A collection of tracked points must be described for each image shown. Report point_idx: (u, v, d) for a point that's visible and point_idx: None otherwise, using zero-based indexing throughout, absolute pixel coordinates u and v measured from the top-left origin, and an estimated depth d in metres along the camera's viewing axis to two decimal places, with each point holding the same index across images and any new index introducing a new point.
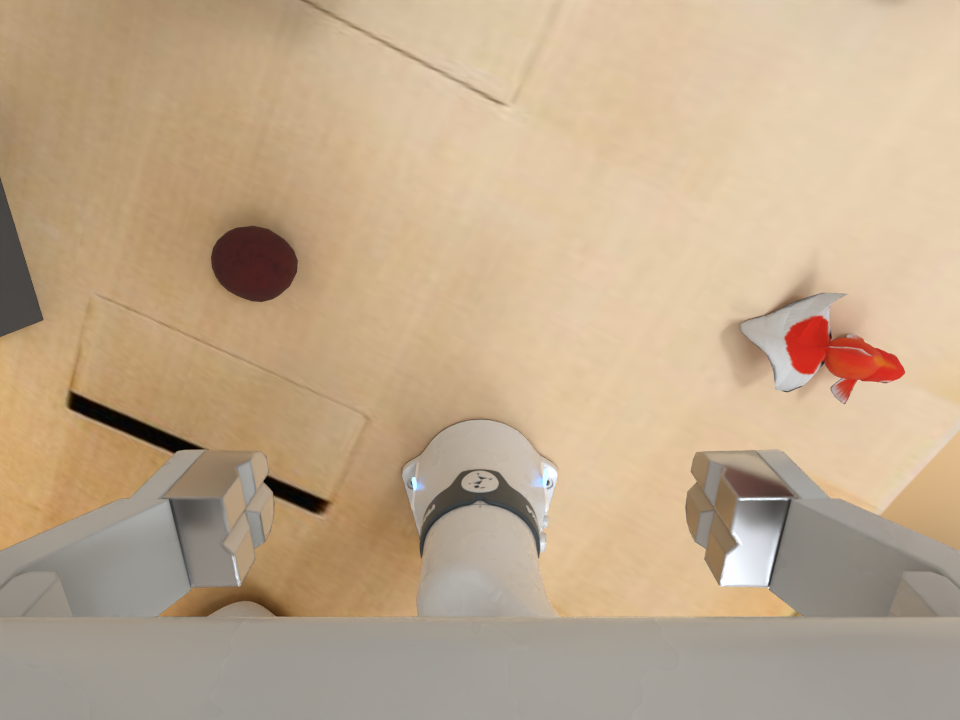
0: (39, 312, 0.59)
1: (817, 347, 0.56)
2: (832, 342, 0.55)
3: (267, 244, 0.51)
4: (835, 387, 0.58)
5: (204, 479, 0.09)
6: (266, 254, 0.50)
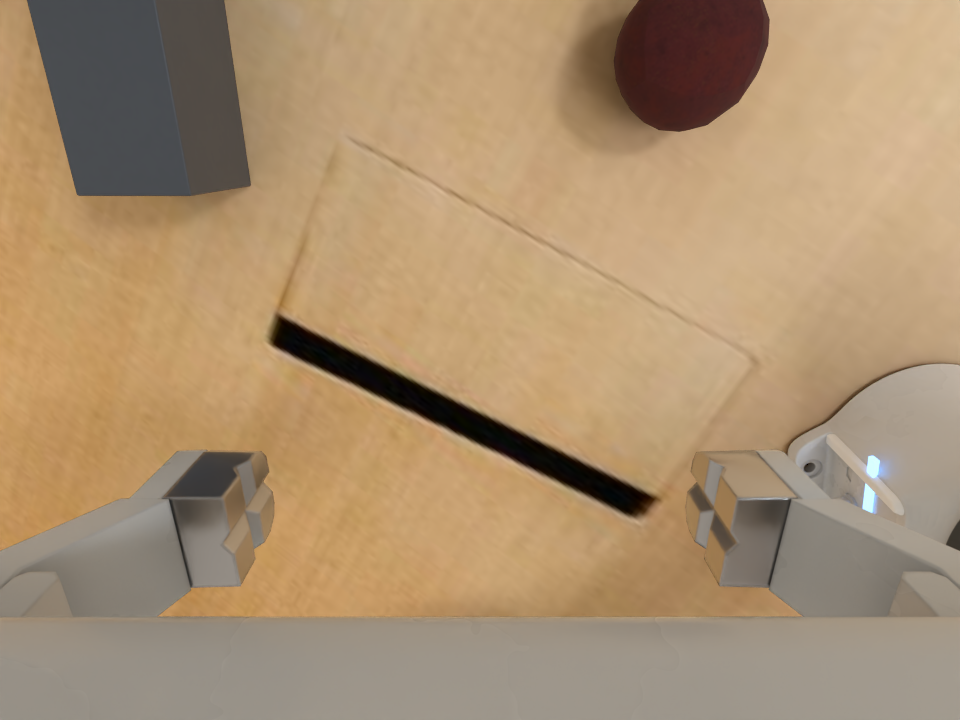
0: (247, 170, 0.34)
1: None
2: None
3: None
4: None
5: (204, 479, 0.09)
6: (758, 13, 0.26)
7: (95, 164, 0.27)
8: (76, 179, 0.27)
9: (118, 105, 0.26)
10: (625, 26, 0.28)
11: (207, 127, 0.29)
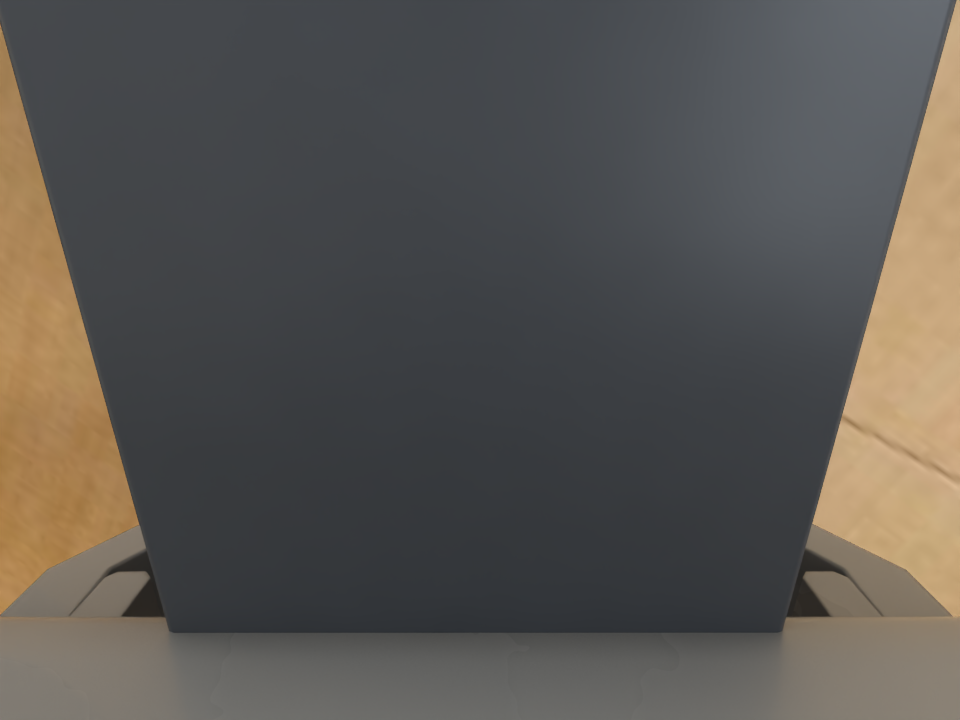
0: None
1: None
2: None
3: None
4: None
5: None
6: None
7: None
8: None
9: None
10: None
11: None
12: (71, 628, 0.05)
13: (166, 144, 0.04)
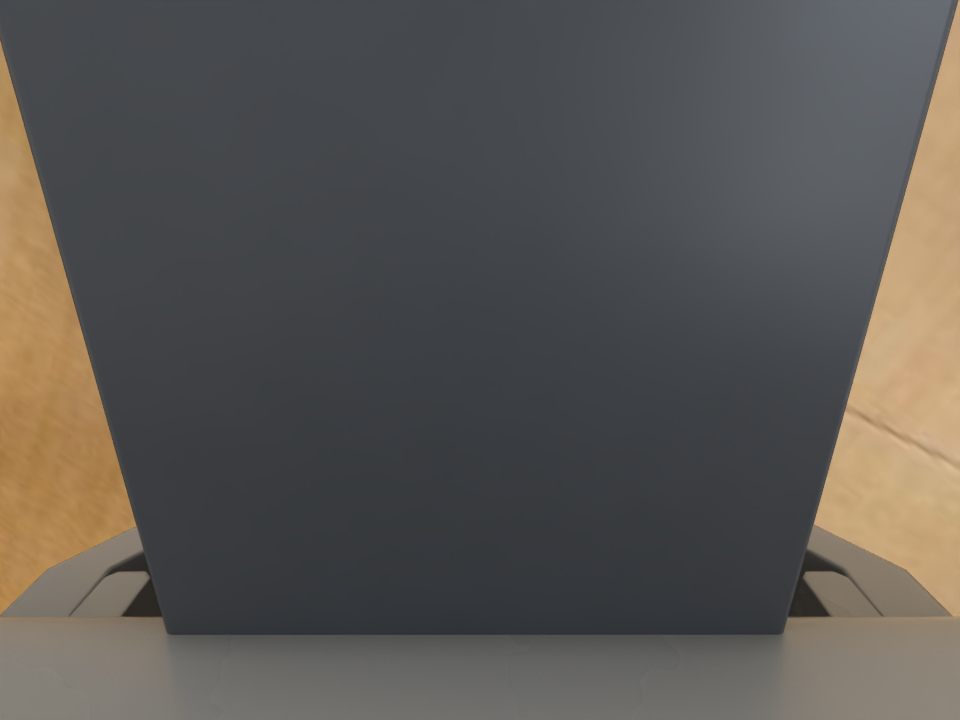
0: None
1: None
2: None
3: None
4: None
5: None
6: None
7: None
8: None
9: None
10: None
11: None
12: (71, 628, 0.05)
13: (162, 143, 0.03)
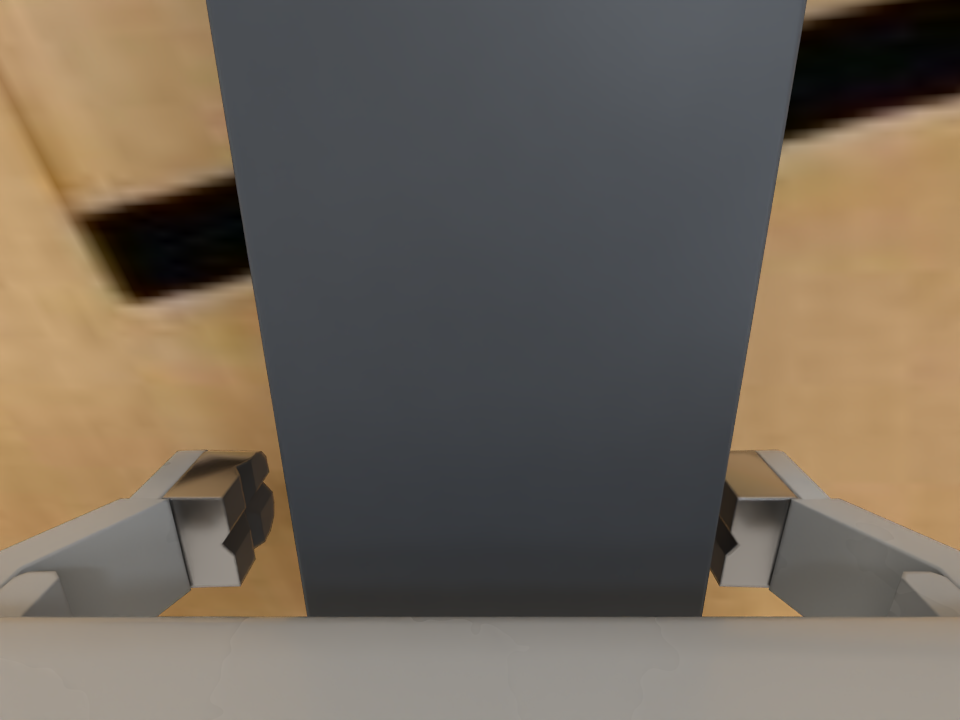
0: None
1: None
2: None
3: None
4: None
5: (204, 479, 0.09)
6: None
7: None
8: None
9: None
10: None
11: None
12: (71, 628, 0.05)
13: (322, 229, 0.06)
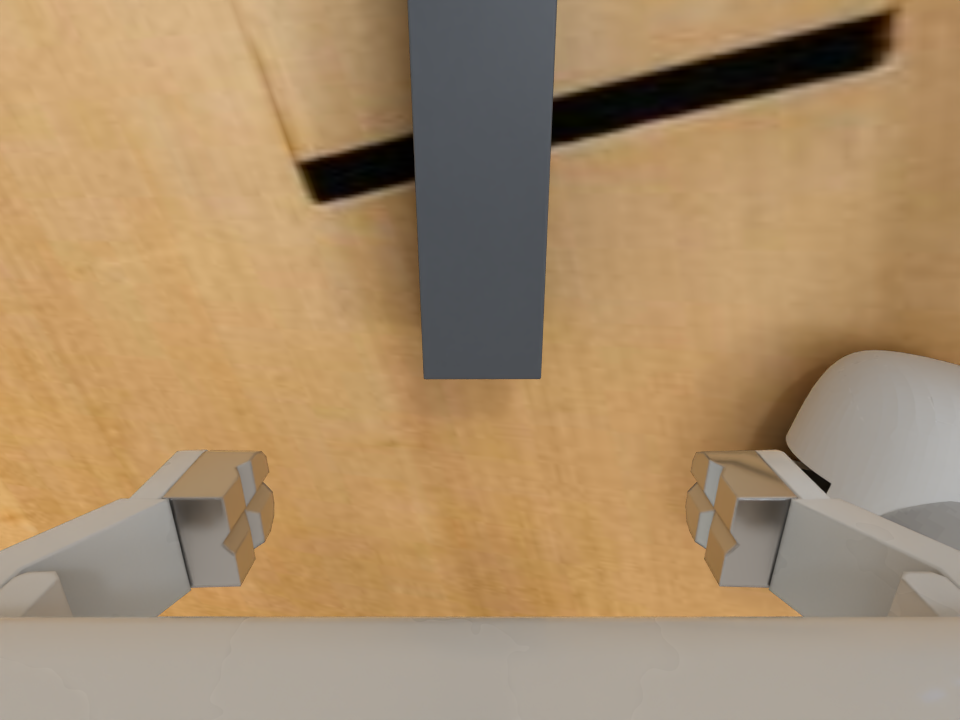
0: None
1: None
2: None
3: None
4: None
5: (204, 479, 0.09)
6: None
7: (450, 351, 0.26)
8: (427, 364, 0.26)
9: (487, 298, 0.25)
10: None
11: None
12: (71, 628, 0.05)
13: (434, 152, 0.23)
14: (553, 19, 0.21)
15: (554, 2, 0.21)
